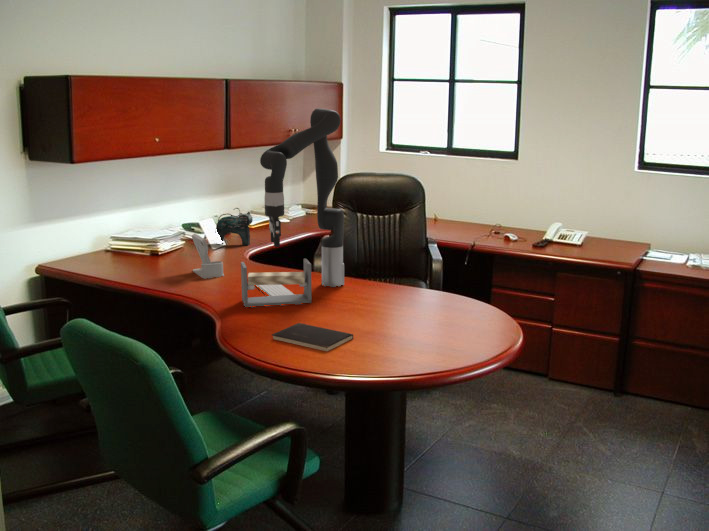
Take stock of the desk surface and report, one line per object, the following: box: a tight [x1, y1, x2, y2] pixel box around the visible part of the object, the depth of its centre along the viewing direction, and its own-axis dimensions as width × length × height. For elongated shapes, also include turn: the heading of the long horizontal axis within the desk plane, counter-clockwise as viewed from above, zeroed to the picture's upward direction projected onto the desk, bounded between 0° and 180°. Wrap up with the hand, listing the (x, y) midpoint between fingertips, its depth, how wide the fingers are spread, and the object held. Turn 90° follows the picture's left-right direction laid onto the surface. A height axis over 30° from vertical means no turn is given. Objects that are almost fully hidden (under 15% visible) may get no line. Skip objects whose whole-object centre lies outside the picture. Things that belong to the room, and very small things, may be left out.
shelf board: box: [247, 271, 305, 286], centre depth 306 cm, size 22×6×4 cm, turn 95°
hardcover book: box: [271, 322, 354, 352], centre depth 265 cm, size 16×23×2 cm
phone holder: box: [191, 233, 225, 280], centre depth 351 cm, size 17×10×18 cm, turn 29°
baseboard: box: [247, 278, 296, 296], centre depth 327 cm, size 31×3×12 cm
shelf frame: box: [240, 258, 313, 308], centre depth 306 cm, size 26×10×16 cm, turn 104°
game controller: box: [215, 207, 253, 247], centre depth 412 cm, size 20×6×20 cm, turn 79°
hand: (275, 244), depth 303 cm, fingers open, 8 cm apart
